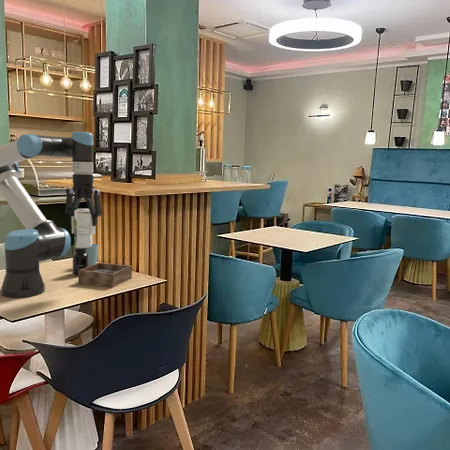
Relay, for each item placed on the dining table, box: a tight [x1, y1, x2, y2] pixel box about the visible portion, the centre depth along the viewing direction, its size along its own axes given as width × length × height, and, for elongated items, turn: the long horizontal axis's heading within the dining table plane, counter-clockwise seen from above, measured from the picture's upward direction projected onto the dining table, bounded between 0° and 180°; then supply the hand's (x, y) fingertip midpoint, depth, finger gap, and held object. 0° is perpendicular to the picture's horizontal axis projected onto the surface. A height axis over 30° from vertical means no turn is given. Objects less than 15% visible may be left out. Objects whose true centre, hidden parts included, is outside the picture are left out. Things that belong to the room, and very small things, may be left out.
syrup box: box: [73, 208, 93, 249], centre depth 173 cm, size 6×6×14 cm
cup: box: [86, 243, 99, 266], centre depth 215 cm, size 8×8×10 cm
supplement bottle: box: [72, 247, 89, 276], centre depth 200 cm, size 7×7×12 cm
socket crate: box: [77, 262, 133, 288], centre depth 191 cm, size 16×16×6 cm
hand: (83, 233), depth 173 cm, fingers closed on syrup box, 7 cm apart
